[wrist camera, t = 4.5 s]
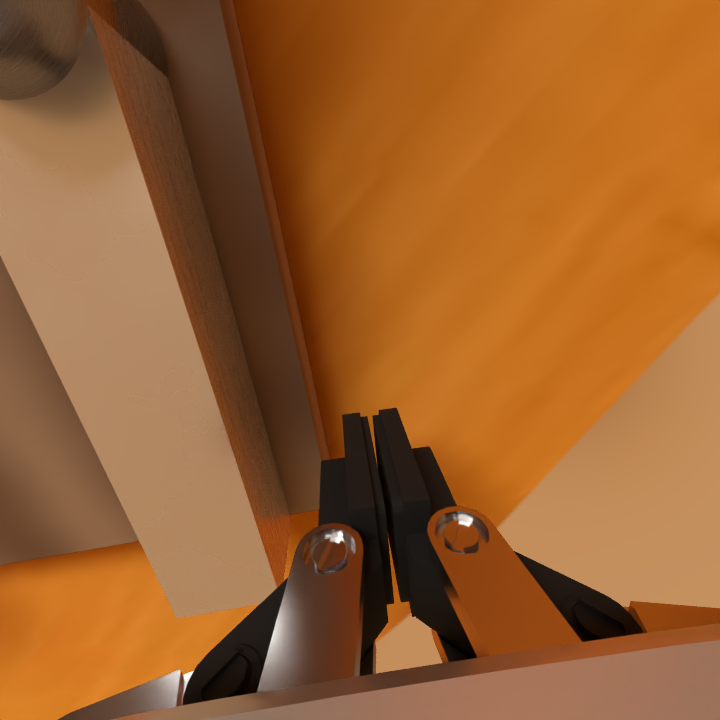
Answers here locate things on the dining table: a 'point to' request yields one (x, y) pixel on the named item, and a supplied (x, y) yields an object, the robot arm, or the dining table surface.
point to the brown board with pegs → (247, 296)
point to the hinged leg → (135, 295)
